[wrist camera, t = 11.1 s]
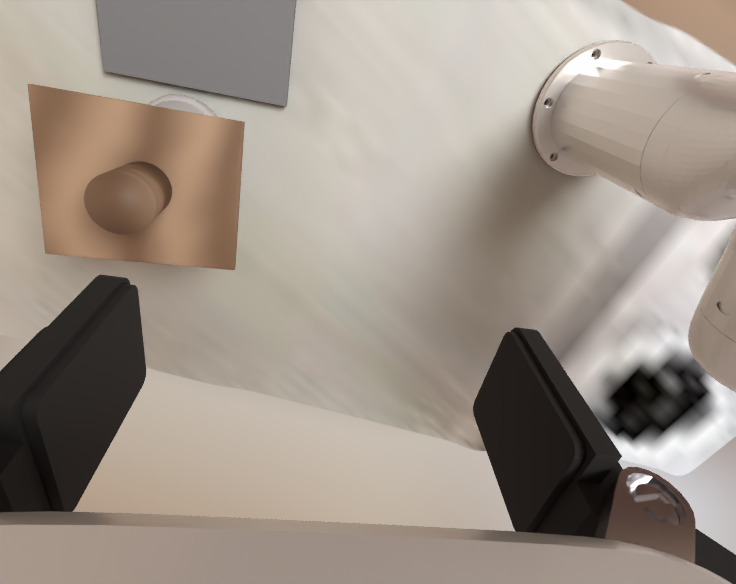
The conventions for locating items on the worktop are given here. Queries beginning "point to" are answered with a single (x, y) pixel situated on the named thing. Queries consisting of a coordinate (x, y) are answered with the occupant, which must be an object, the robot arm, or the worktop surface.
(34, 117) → the walnut lid
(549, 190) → the worktop surface
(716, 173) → the robot arm
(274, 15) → the grey flat slab
